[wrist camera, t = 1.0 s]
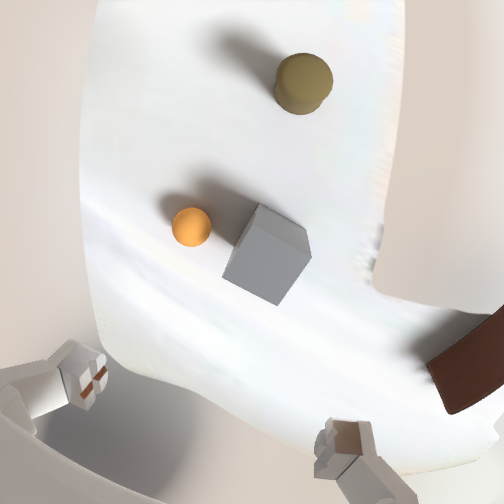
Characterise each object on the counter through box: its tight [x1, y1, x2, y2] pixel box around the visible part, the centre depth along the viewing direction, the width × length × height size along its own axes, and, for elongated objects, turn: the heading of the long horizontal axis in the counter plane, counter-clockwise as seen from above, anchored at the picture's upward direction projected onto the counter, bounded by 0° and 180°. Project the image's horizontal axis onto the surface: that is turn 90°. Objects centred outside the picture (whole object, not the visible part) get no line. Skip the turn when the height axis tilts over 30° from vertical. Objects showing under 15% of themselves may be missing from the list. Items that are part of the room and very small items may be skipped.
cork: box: [274, 53, 333, 115], centre depth 27 cm, size 6×6×11 cm
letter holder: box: [427, 305, 504, 415], centre depth 38 cm, size 10×20×14 cm, turn 132°
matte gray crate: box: [222, 203, 312, 306], centre depth 36 cm, size 7×7×9 cm
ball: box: [172, 207, 211, 247], centre depth 38 cm, size 5×5×5 cm
